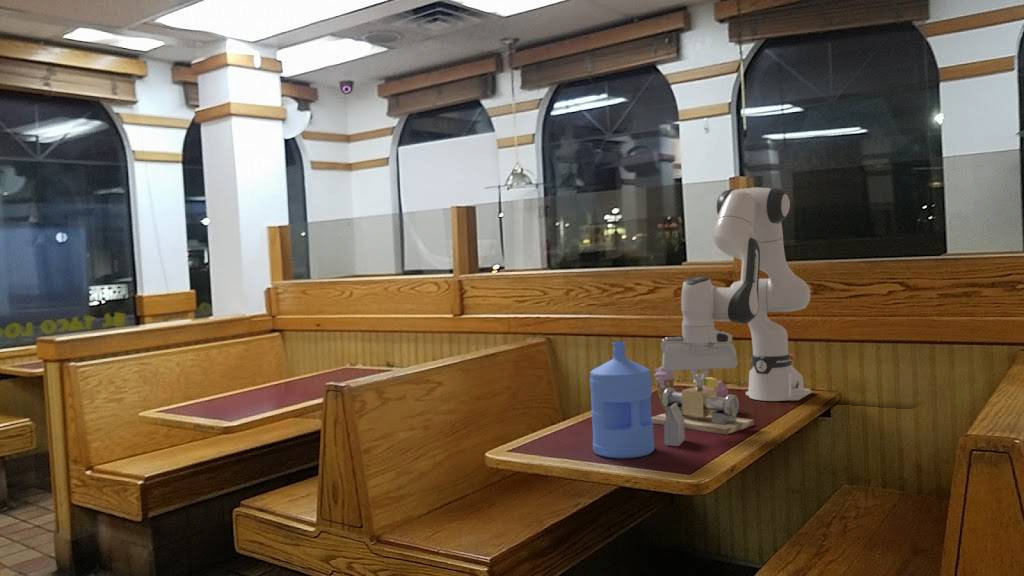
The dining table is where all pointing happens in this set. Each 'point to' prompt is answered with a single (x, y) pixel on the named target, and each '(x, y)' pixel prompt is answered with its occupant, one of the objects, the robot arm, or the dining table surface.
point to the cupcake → (721, 389)
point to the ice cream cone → (663, 381)
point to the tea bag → (674, 427)
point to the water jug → (621, 407)
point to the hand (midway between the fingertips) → (700, 385)
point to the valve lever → (708, 381)
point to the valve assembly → (704, 410)
